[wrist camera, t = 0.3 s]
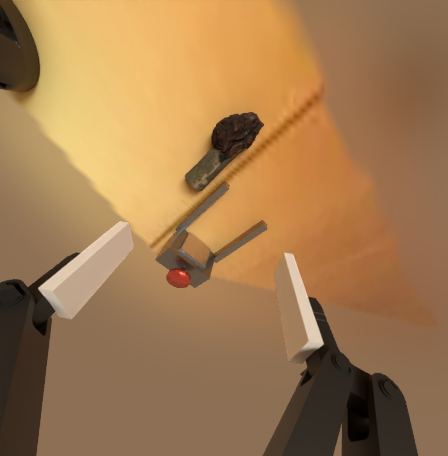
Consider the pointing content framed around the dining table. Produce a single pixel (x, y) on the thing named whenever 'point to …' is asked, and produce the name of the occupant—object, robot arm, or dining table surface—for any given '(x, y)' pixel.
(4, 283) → the robot arm
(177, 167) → the dining table surface
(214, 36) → the dining table surface
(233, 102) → the dining table surface
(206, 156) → the morel mushroom
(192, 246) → the cradle
